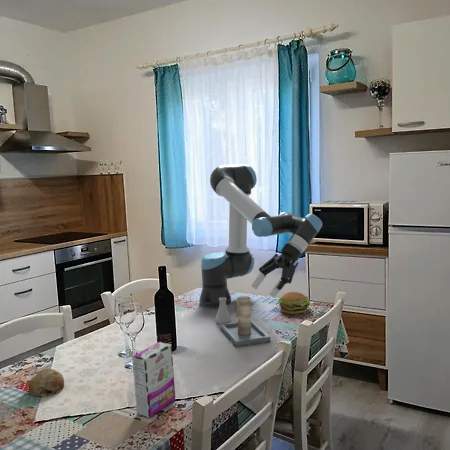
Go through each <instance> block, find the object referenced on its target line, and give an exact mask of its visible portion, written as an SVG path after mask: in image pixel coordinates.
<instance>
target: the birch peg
mask: <svg viewBox="0 0 450 450" xmlns="http://www.w3.org/2000/svg"><path fill="white" fill-rule="evenodd" d="M236 304H237V305H236V306H237V307H236V310H237V311H236V312H237V313H236V314H237V322H238V335H241V336H248V335H250V334H251V320H252V315H251V314H252V313H251V312H252V311H251V297H250V296H247V295H241V296H237V298H236Z"/></svg>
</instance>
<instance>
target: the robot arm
mask: <svg viewBox="0 0 450 450" xmlns="http://www.w3.org/2000/svg"><path fill="white" fill-rule="evenodd" d="M209 181H210V186H211V187H210V188H211V189H212V190H213V192H214V193H215V194H216V195H218V196H219V197H223V199H225V200H226V201H227V202H228V203H229V204H228V207H229V208H228V209H229V211H228V213H229V215H228V216H229V218H228V246H227V247H226V248H225V252H222V251H217V252H211V253H207V254H205V255H203V256H202V258H201V264H200V267H201V281H202V282H201V283H202V289H201V292H200V295H199V301H198V302H199V305H200V306H202V307H205V308H219V305H220V301H219V298H226V306H229V305H231V304H232V296H231V293H230V291H229V288H228V280H229V279H234V278H238V277H244V276H247V275H249V274H251V272H252V271H253V269H254V266H255V257H253V256H254V254H253V253H252V252H251V251H250V248H249V247H248V246H247V245H248V244H247V241H248V239H247V236H248V222H249V223H250V224H251V230H252V233H253V234H254V235H255V236H256V237H257V238H258V237H259V238H260V237H261V238H263V237H264V238H265V237H270V236H276V235H282V234H291V236H290V237H289V238H288V239H287V242H286V243H285V244H284V246H283V247H282V248H281V249H280V250H281V253H280V255H279V254H278V253H275V254H274V255H273V256H272V257H271V258H269V260H268V261H267V262H265V263H264V264H263V265H262V266H260V267H259V268H258V271H259V273H258V275H257V276H256V278H255V279H254V281H253V282H252V283H251V284H250V286H251V287H252V288H253V289H255V290H257V289H258V288H259V287H260V285H261V284H262V282H263V281H264V280H265V279H266V277H267V275H268V274H270V273H271V272H273V271H275V270H276V269H281V270H282V271H281V277H280V279H278V281H276V283H275V284H274V285H273V287H272V288H271V290H270V292H269V295H270V296H271V297H272V298H276V297H277V295H279V293H280V291H281V290H282V289H283V288H284V286H285V285H286V284H289V285H290V284H291V283H292V281H293V278H294V275H295V271H296V269H297V267H298V265H299V264H300V263H299V262H298V260H299V259H300V258H301V256H302V254H303V253H304V252H305V250H306V249H307V248H308V246H309V245H310V244H311V242H312V241H313V240H314V239H315V237H316V236H317V234H319V232H320V230H321V228H322V227H323V222H322V219H320V218H319V217H318V216H317V215H315V214H314V213H308V214H307V215H305V217H302V216H301V217H300V216H298V215H296V214H294V213H291V212H286V211H283V212H280V213H279V214H278V215H273V216H271V215H270V214H268V212H266V211H265V210H264V209H263V208H262V207H261V206H260V205H259V204H258V203H256V201H254V200H253V199H252V198H251V197H250V195H251V194H252V189H254V188H255V187H256V184H257V181H258V180H257V173H256V171H255V170H254V168H253V167H252V166H250V165H249V164H240V163H239V164H224V165H219V166H217V167H216V168H215V169H213V170H212V172H211V174H210V177H209Z"/></svg>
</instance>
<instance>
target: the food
mask: <svg viewBox="0 0 450 450" xmlns="http://www.w3.org/2000/svg"><path fill="white" fill-rule="evenodd" d="M277 301H278V305H279V307H280V311H281V312H282V313H284V314H290V315H298V314H304V313H305V312H307V311H308V307H309V306H310V298H309V296H306V295H305V294H303V293H301V292H298V291H289V292H285V293H284V294H282V295H281V297H280V298H278V300H277Z"/></svg>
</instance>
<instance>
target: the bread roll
mask: <svg viewBox="0 0 450 450" xmlns="http://www.w3.org/2000/svg"><path fill="white" fill-rule="evenodd" d="M64 387H65V378H64V375H63V374H62V373H61V372H60V371H58V370H56V369H53V368H44V369H43V368H42V369H41V370H39V371H38V372H36V374H35V375H34V376H32V378H30V380H29V383H28V393H29V394H31V395H32V396H34V397H37V396H42V397H41V398H44V397H43V396H45V397H48V396H47V395H49V394H52V395H54V394H53V393H55V392H58V391H60V390H61V391H63V389H64ZM61 391H60V392H61ZM58 393H59V392H58ZM55 394H56V393H55ZM49 396H50V395H49Z"/></svg>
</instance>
